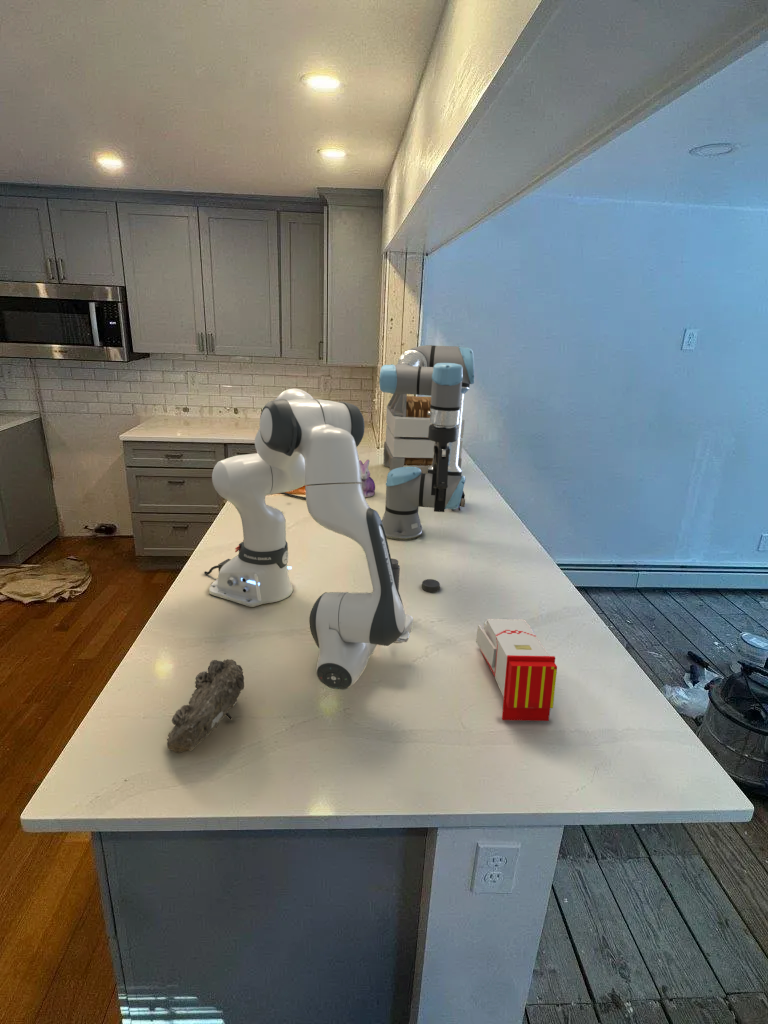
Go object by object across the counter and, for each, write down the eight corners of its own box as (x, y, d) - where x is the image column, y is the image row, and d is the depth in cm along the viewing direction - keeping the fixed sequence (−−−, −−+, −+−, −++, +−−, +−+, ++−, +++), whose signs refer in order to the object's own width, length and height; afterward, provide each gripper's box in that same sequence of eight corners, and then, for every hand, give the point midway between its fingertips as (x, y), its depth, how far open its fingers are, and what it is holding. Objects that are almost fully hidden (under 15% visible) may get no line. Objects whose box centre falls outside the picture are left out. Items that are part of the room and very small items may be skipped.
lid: (443, 589, 162) (443, 583, 161) (430, 594, 159) (431, 588, 158) (430, 582, 165) (431, 577, 165) (418, 587, 162) (418, 582, 162)
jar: (380, 608, 150) (382, 557, 145) (397, 608, 150) (400, 558, 145) (379, 616, 146) (382, 564, 141) (397, 617, 146) (400, 565, 141)
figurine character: (465, 515, 224) (460, 499, 237) (467, 498, 221) (462, 483, 234) (448, 515, 224) (444, 499, 237) (450, 498, 220) (445, 482, 234)
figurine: (360, 499, 233) (361, 464, 228) (349, 492, 242) (350, 458, 237) (380, 497, 237) (381, 462, 232) (369, 490, 246) (370, 456, 241)
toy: (523, 604, 135) (566, 662, 106) (518, 656, 138) (559, 727, 109) (472, 603, 135) (501, 661, 105) (468, 655, 138) (496, 726, 108)
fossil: (192, 660, 117) (244, 628, 112) (224, 691, 120) (276, 661, 115) (142, 746, 98) (202, 712, 93) (182, 779, 101) (242, 748, 96)
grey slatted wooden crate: (382, 463, 289) (386, 382, 275) (445, 464, 293) (451, 384, 279) (390, 482, 257) (394, 392, 243) (460, 483, 261) (468, 394, 247)
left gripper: (407, 630, 118) (420, 600, 131) (315, 613, 123) (336, 585, 135) (405, 656, 120) (418, 623, 133) (314, 638, 125) (336, 608, 137)
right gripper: (426, 415, 158) (421, 488, 165) (431, 434, 135) (425, 518, 142) (453, 417, 158) (447, 489, 165) (463, 436, 134) (455, 519, 142)
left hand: (376, 604), depth 134 cm, fingers open, 8 cm apart
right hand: (437, 503), depth 153 cm, fingers open, 13 cm apart
